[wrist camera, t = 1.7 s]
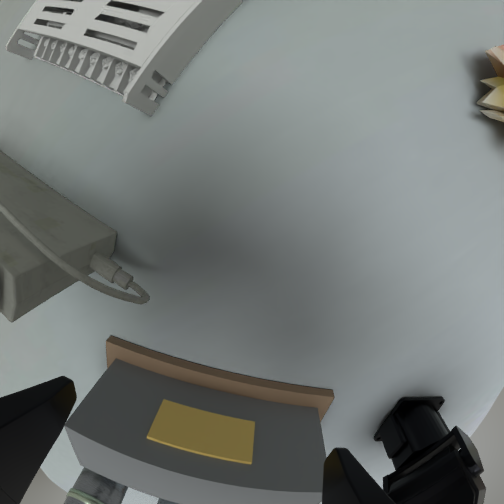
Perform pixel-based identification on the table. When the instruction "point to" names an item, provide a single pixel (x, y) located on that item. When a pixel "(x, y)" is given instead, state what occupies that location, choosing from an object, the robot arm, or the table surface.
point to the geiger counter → (50, 245)
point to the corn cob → (495, 86)
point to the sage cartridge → (95, 490)
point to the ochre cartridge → (165, 501)
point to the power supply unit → (122, 41)
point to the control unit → (200, 431)
